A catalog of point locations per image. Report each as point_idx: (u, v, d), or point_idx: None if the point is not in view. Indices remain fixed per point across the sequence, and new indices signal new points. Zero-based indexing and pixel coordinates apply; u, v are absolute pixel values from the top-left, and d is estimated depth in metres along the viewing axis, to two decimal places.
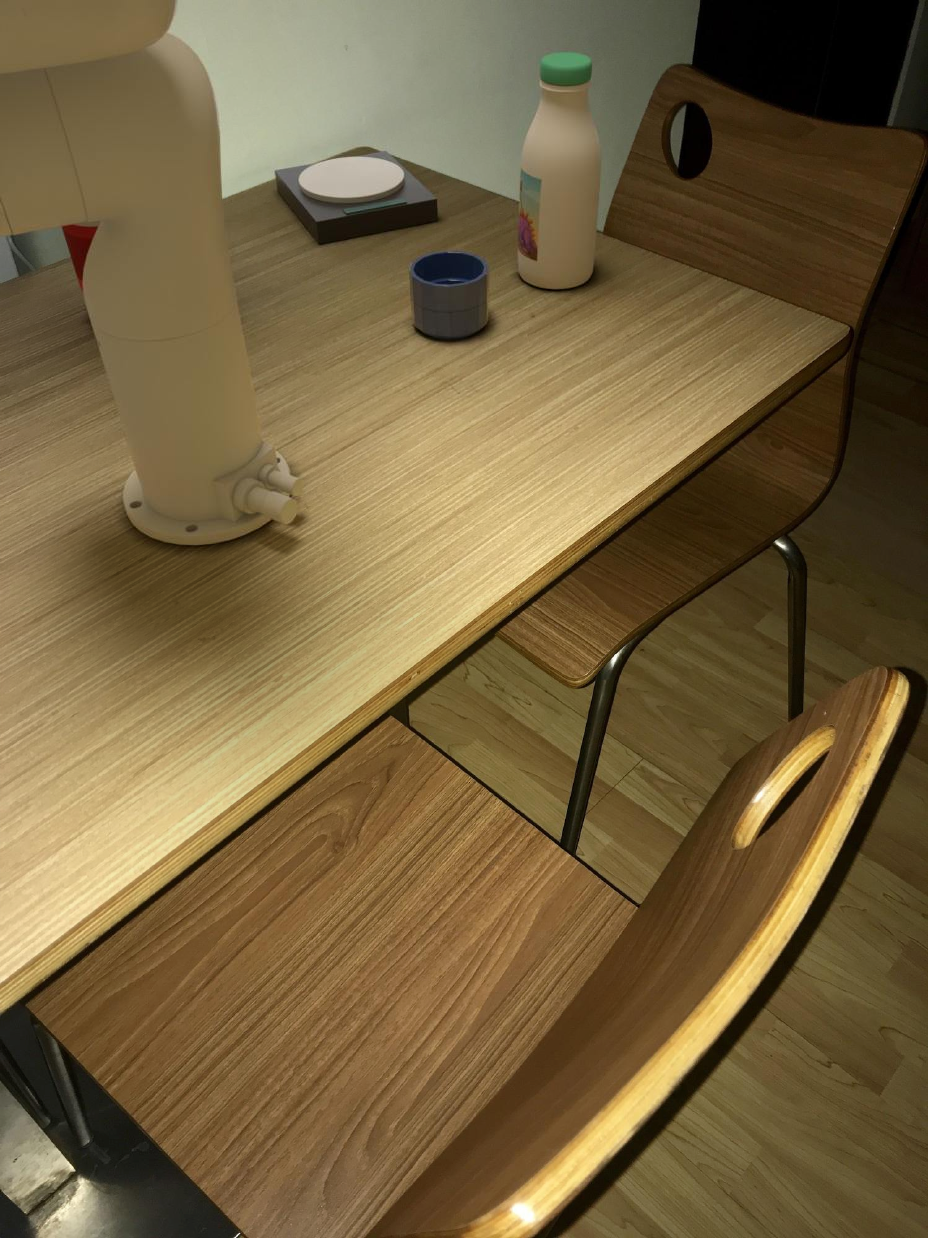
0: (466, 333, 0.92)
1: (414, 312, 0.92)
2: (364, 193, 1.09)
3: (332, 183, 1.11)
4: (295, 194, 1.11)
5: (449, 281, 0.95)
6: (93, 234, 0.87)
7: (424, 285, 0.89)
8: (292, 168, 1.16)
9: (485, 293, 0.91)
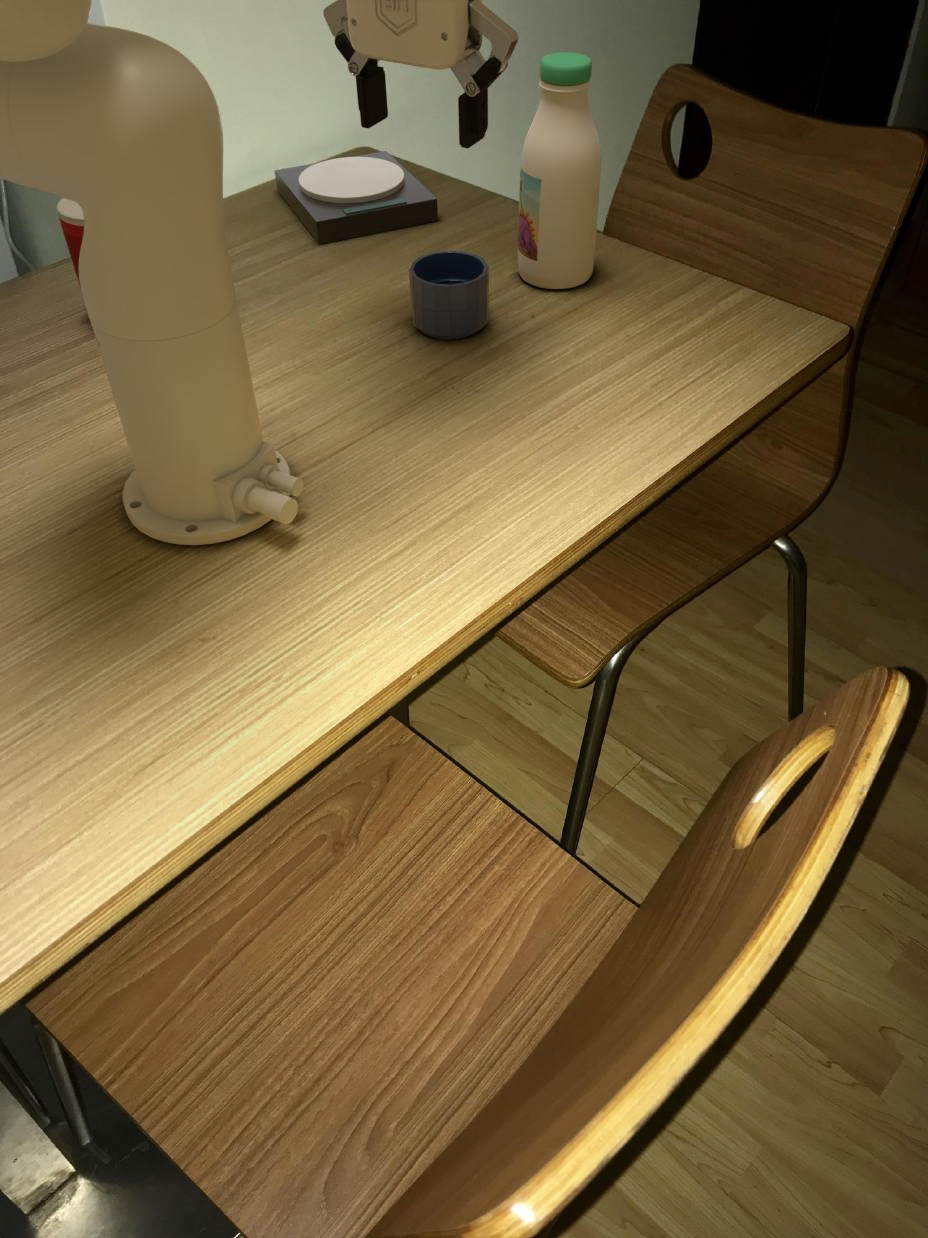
0: (466, 333, 0.92)
1: (414, 312, 0.92)
2: (364, 193, 1.09)
3: (332, 183, 1.11)
4: (295, 194, 1.11)
5: (449, 281, 0.95)
6: None
7: (424, 285, 0.89)
8: (292, 168, 1.16)
9: (485, 293, 0.91)
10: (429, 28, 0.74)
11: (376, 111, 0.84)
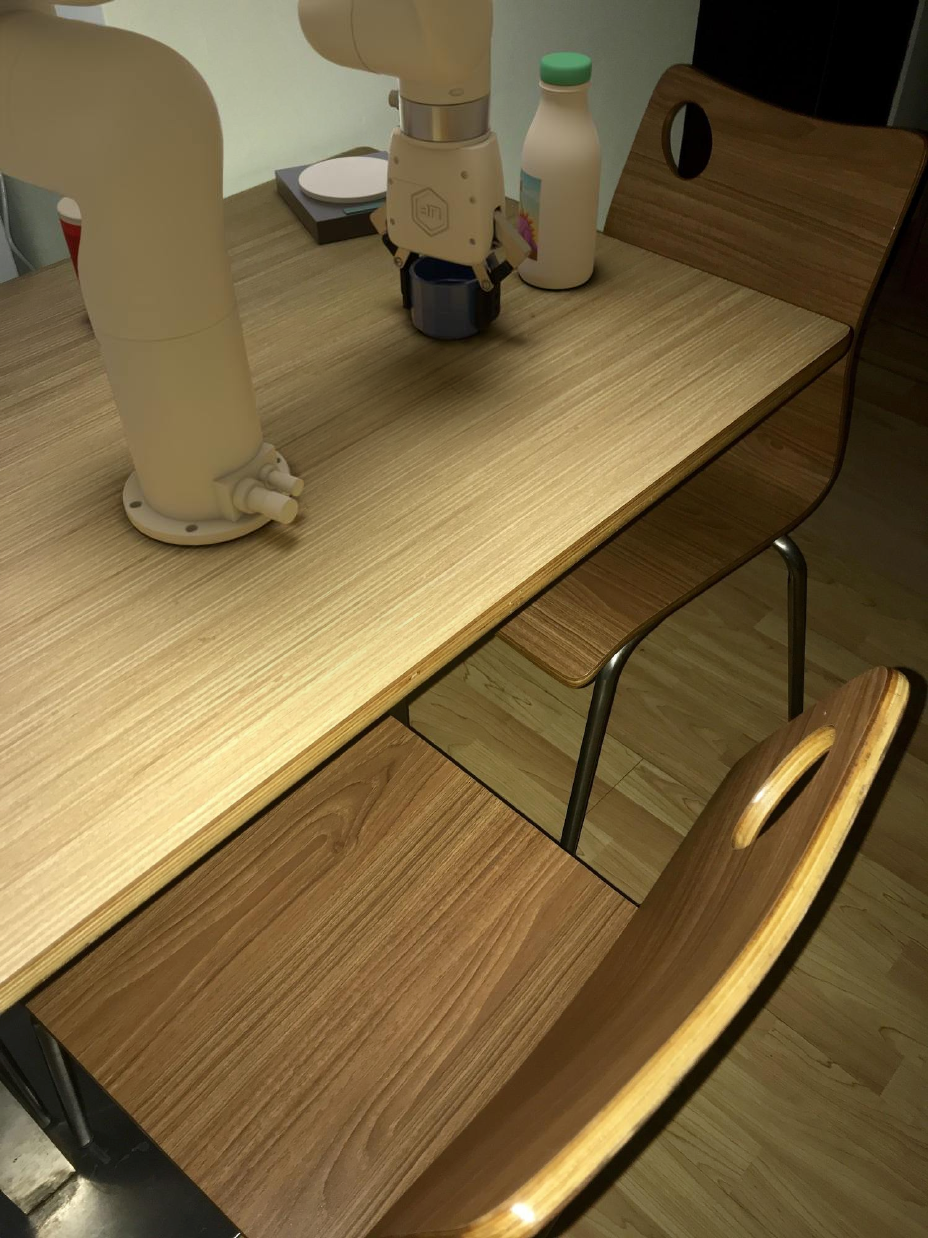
0: (466, 333, 0.92)
1: (414, 312, 0.92)
2: (364, 193, 1.09)
3: (332, 183, 1.11)
4: (295, 194, 1.11)
5: (449, 281, 0.95)
6: None
7: (424, 285, 0.89)
8: (292, 168, 1.16)
9: None
10: (459, 234, 0.85)
11: None
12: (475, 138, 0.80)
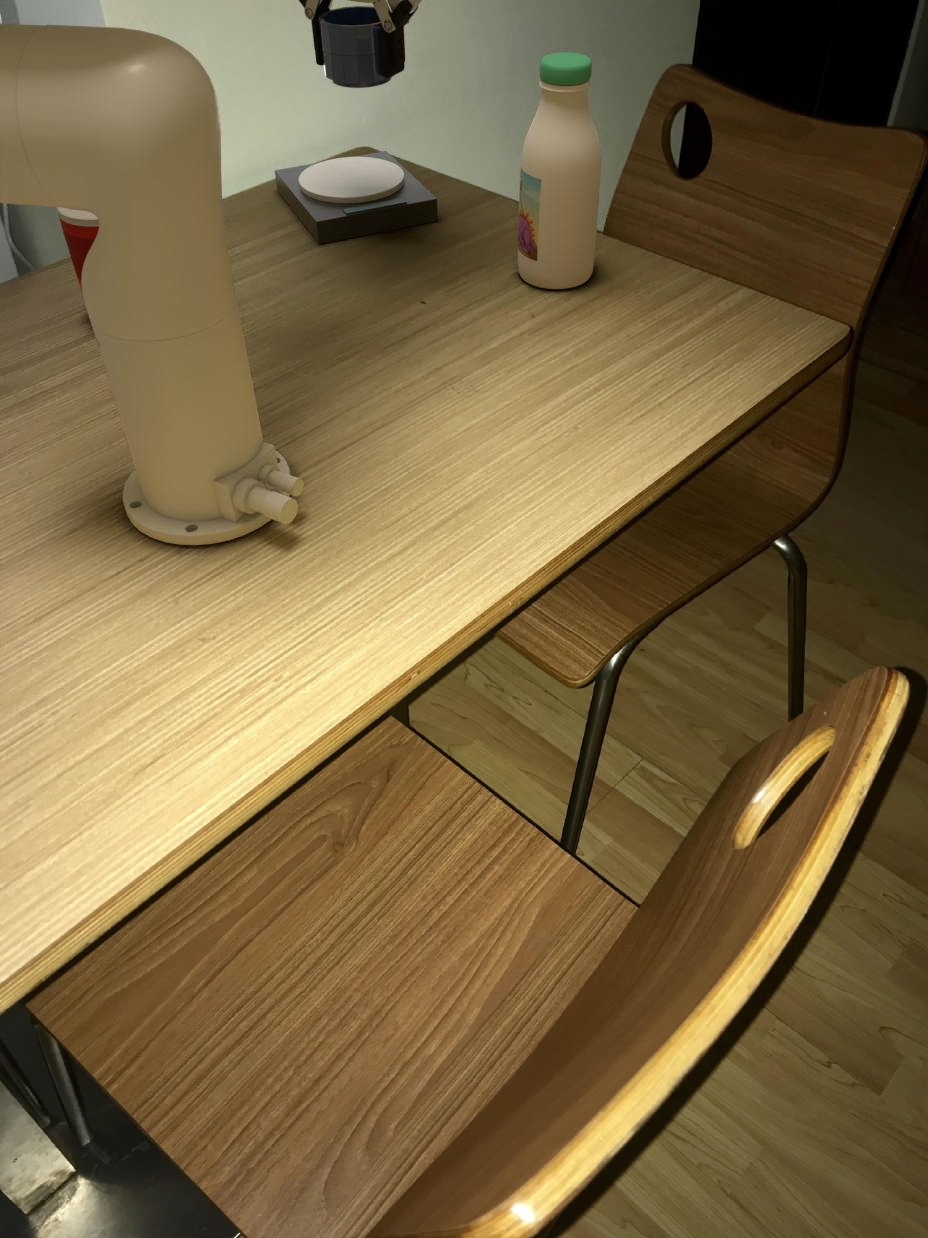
0: (373, 80, 0.97)
1: (324, 61, 0.97)
2: (364, 193, 1.09)
3: (332, 183, 1.11)
4: (295, 194, 1.11)
5: None
6: (93, 234, 0.87)
7: (331, 27, 0.94)
8: (292, 168, 1.16)
9: None
10: None
11: None
12: None
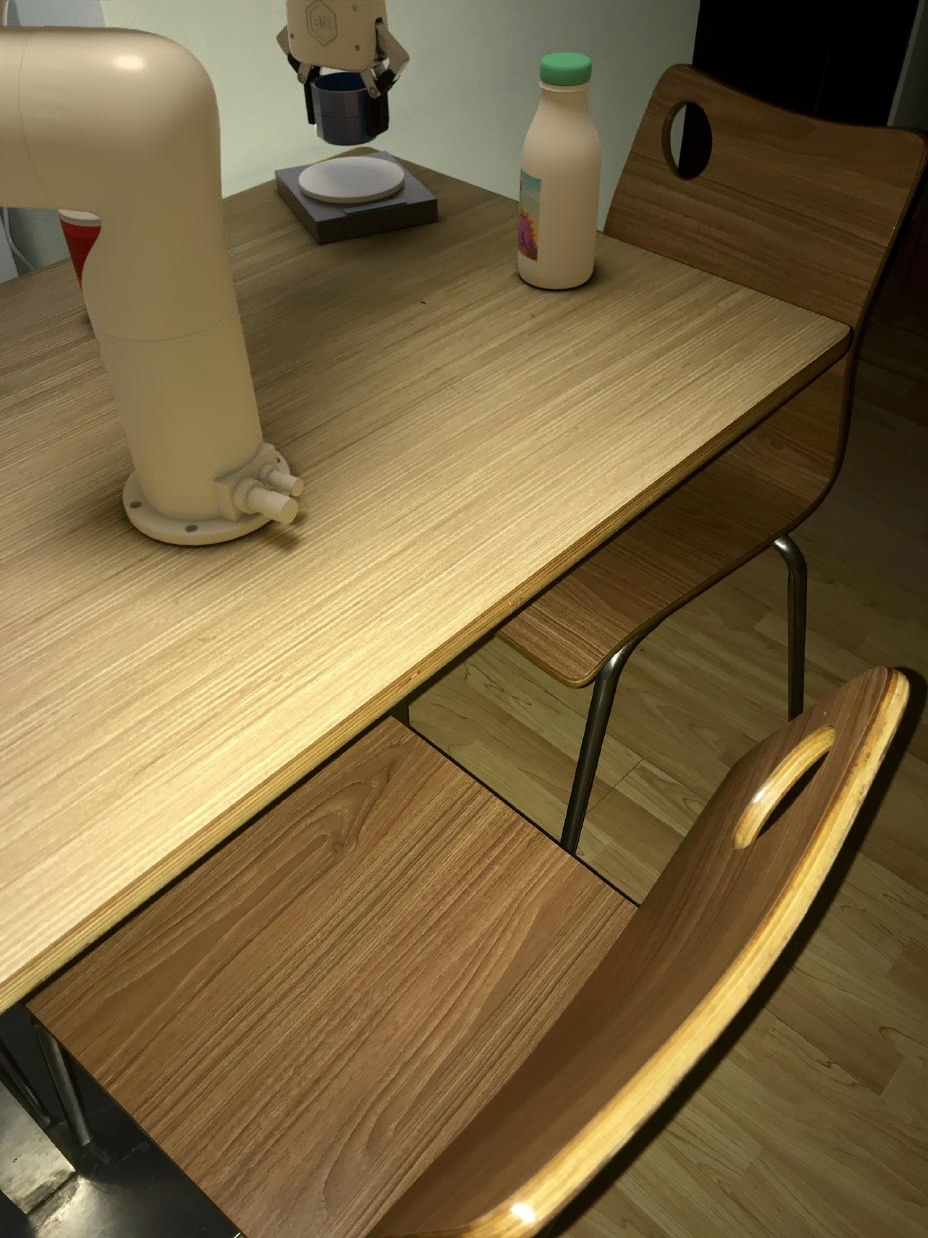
0: (360, 139, 1.06)
1: (315, 122, 1.07)
2: (364, 193, 1.09)
3: (332, 183, 1.11)
4: (295, 194, 1.11)
5: None
6: (93, 234, 0.87)
7: (321, 93, 1.04)
8: (292, 168, 1.16)
9: None
10: (346, 41, 0.99)
11: None
12: None
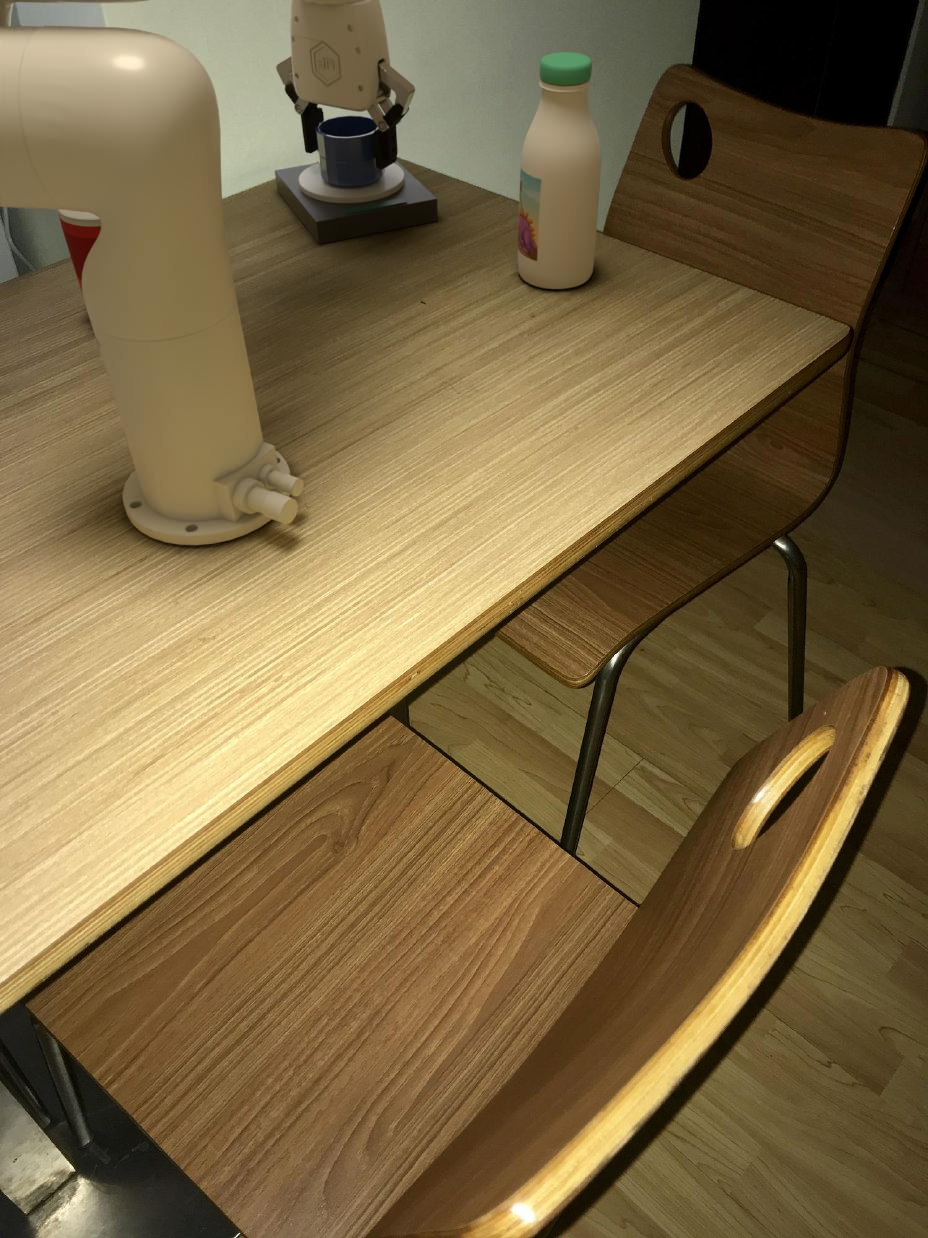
0: (364, 182, 1.10)
1: (320, 165, 1.10)
2: (364, 193, 1.09)
3: None
4: (295, 194, 1.11)
5: None
6: (93, 234, 0.87)
7: (326, 138, 1.07)
8: (292, 168, 1.16)
9: None
10: (349, 82, 1.02)
11: None
12: None
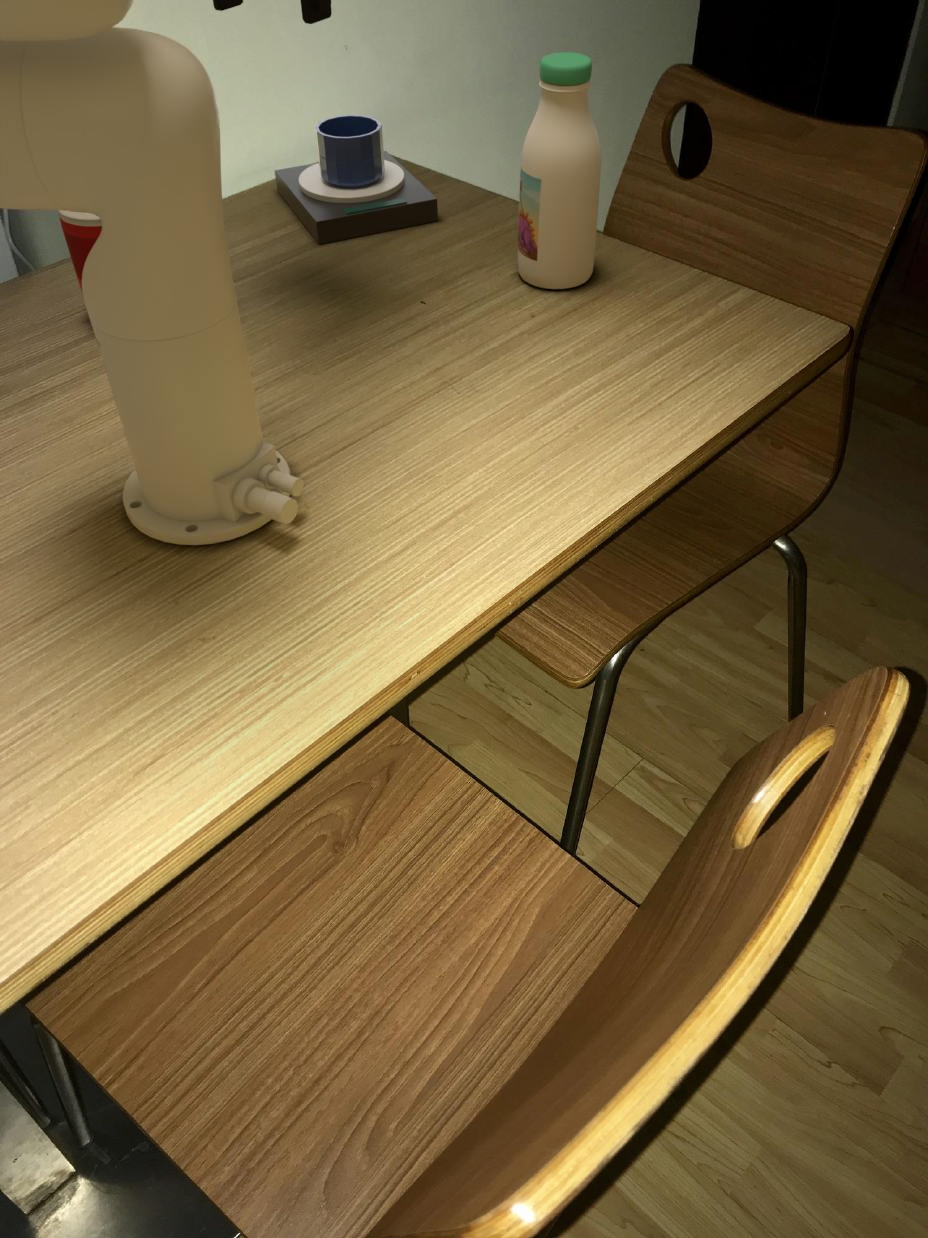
0: (364, 182, 1.10)
1: (320, 165, 1.10)
2: (364, 193, 1.09)
3: None
4: (295, 194, 1.11)
5: None
6: (93, 234, 0.87)
7: (326, 138, 1.07)
8: (292, 168, 1.16)
9: (379, 147, 1.09)
10: None
11: None
12: None
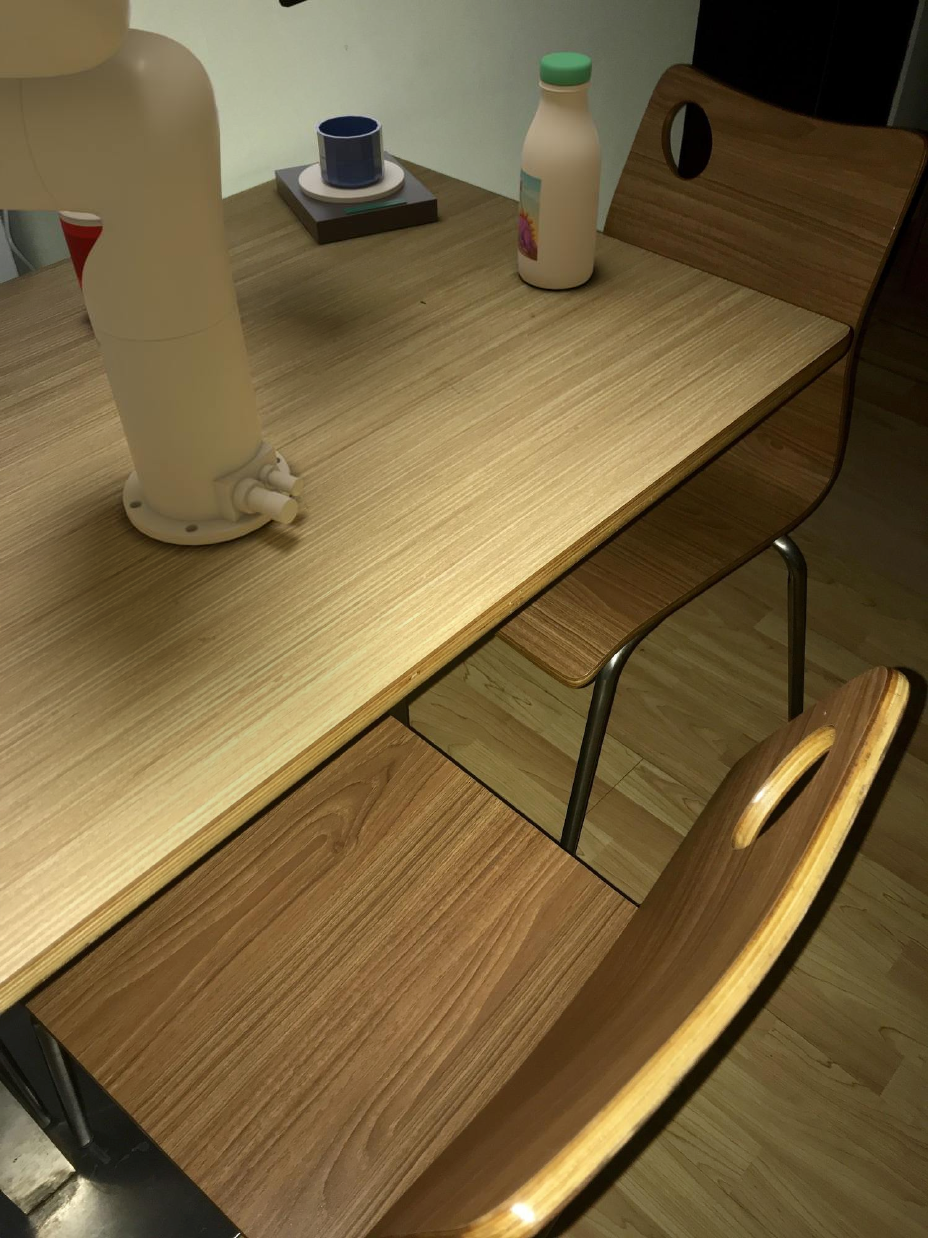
0: (364, 182, 1.10)
1: (320, 165, 1.10)
2: (364, 193, 1.09)
3: None
4: (295, 194, 1.11)
5: None
6: (93, 234, 0.87)
7: (326, 138, 1.07)
8: (292, 168, 1.16)
9: (379, 147, 1.09)
10: None
11: None
12: None
